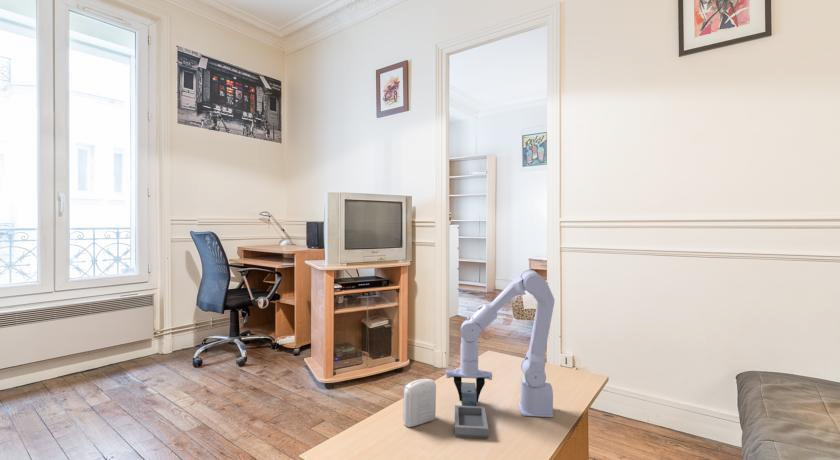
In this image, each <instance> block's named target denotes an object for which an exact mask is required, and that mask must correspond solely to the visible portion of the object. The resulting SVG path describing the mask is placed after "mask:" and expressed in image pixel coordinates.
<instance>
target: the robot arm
mask: <svg viewBox="0 0 840 460" xmlns="http://www.w3.org/2000/svg"><path fill="white" fill-rule="evenodd" d="M526 292H527V293H529V294H530V295H531V296H533V298H534V300H536V308H535V312H534V313H535V314H534V318H533V323H532V324H533V325H532V329H531V335H530V340H529V346H528V350H527V351H526V354H525V357H524V359H522V361H521V364H520V368H521V372H522V374H523V376H522V378H520V379H521V380H520V383H521V384H520V401H518V402H517V406H518V408H519V412H520V414H521V416H524V417H538V418H540V417H543V418H554V415H553V414H554V413H553V412H554V390H553V386H552V384H551V383H550V382H546V380H547V374H546V371H545V370H546V369H545V368H546V357H545V354H546V350H547V344H548V339H549V333H550V329H551V328H550V327H551V322H552V317H553V313H554V305H555V297H554V295H553V293H552V291H551V288H550V286H549V283H548V281H546V280H545V278H544V277H543V276H542V275H541V274H539V273H538V272H537V271H535V270H533V269H526V270H524V271H523V272H522V273H521V274H520V275H518V276H516V277H515V278H514V279H513V280H512V281H510V283H509V284H508V285H507V286H506V287H505V288H504V289H503V290H502V291H501V292H500V293H499V294H498V295H497V296H496V297H495V298H494V300H492V302H490V303H484V304H482V305H481V304H480V305H478V306H477V310H476V311H475V312H474V313H473V314H472V315H471V316H470V315H469V316H467V318H466V320H464V321H463V322H462V324H461V325H460V335H461V338H460V356H459V357H460V358H459V359H460V365H459V367H460V368H458V369H456V368H455V369H446V379H451V378H453V383H454V386H455V388H456V391H457V393H458V398H459V402H461V401H462V393H461V387H462V379H475V380H476V381H475V385H476V392H477V403H479V398H480V394H481V392H482V390H483V387H484V386H485V384H486V383H485V382H486V381H485V380H489V381H492V380H493V372H492V371H489V370H488V371H485V370H480V369H479V343H478V339H479V337H480V334H481V333H480V332H483V331H484V330H485V329H487V328H488V327H489V325H491V324H492V323H493V322H494V321H495V320H496V319H497V318H498V312H499V311H500V310H501V309H502V308H503V307H504V306H505V305H507V304H508V303H509V302H510V301H512V299H514V298H515V297H516V296H524V295H527V294H526Z"/></svg>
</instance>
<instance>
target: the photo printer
mask: <svg viewBox="0 0 840 460" xmlns="http://www.w3.org/2000/svg"><path fill="white" fill-rule="evenodd" d="M436 398H437V385H436V383H435V380H433V379H431V378H421V379H416V380H414V381H411V382H409V383H407V384H406V385H405V386H404V388H403V405H402V406H403V410H402V413H403V414H402V419H403V421H402V422H403V426H405V427H407V428H413V427H416V426H418V425H419V426H420V425H423V424H426V423H428V422H432V421H434V420H436V408H437V407H436V405H437V404H436V401H437V399H436Z"/></svg>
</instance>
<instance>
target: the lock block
mask: <svg viewBox="0 0 840 460" xmlns="http://www.w3.org/2000/svg"><path fill="white" fill-rule="evenodd" d="M461 393H462V401H460V402H461V406H478V405H477V404H478V402H477V392H476V382H462V387H461Z"/></svg>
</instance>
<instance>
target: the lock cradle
mask: <svg viewBox="0 0 840 460" xmlns="http://www.w3.org/2000/svg"><path fill="white" fill-rule="evenodd" d="M454 435H455V436H454V437H455V438H468V439H469V438H470V439H484V440H485V439H487V440H488V439H489V425H488V420H487V414H486V409H485V406H478V405H477V406H462V405H460V404H459V405H458V404H457V405H456V404H455V405H454Z"/></svg>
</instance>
